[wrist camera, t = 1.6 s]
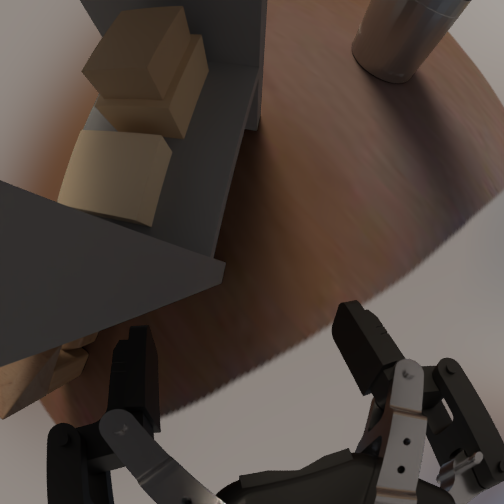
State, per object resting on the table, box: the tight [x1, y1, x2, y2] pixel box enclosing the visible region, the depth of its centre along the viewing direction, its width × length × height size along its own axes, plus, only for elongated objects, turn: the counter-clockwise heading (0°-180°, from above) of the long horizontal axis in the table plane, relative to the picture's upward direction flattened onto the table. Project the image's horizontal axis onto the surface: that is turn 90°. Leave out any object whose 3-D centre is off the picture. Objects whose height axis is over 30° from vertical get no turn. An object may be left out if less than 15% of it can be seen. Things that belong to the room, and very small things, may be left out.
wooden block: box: [0, 331, 99, 419], centre depth 18 cm, size 4×11×18 cm, turn 149°
